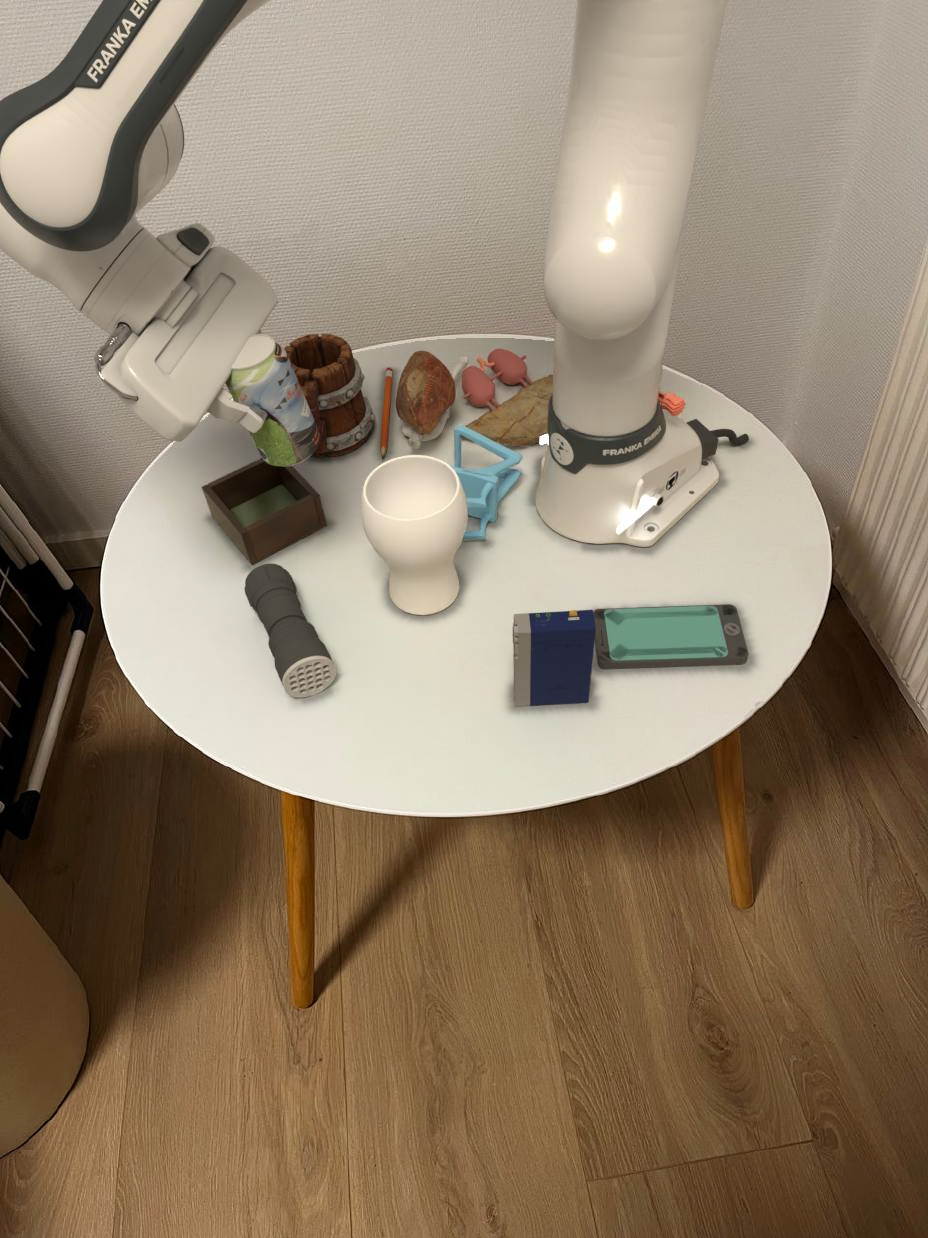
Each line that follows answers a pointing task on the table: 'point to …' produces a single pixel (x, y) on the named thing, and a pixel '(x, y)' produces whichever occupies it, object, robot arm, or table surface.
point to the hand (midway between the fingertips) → (275, 402)
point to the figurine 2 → (503, 366)
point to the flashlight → (289, 632)
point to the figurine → (414, 434)
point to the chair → (484, 479)
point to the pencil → (386, 412)
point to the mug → (332, 391)
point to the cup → (416, 529)
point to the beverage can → (274, 402)
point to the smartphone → (669, 636)
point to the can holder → (264, 508)
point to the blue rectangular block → (553, 657)
